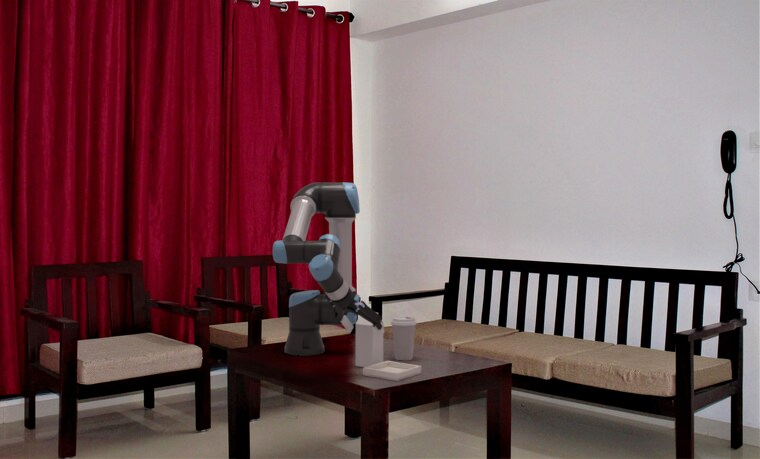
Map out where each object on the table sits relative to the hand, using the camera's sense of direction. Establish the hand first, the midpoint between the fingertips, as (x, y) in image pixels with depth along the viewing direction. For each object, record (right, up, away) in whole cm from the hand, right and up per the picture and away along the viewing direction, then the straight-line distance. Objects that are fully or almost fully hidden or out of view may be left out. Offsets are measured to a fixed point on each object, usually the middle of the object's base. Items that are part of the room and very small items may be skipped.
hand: (366, 331), depth 258 cm
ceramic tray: (+9, -13, -10) cm, 19 cm away
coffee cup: (+13, -12, +15) cm, 23 cm away
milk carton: (+1, -12, +3) cm, 13 cm away
